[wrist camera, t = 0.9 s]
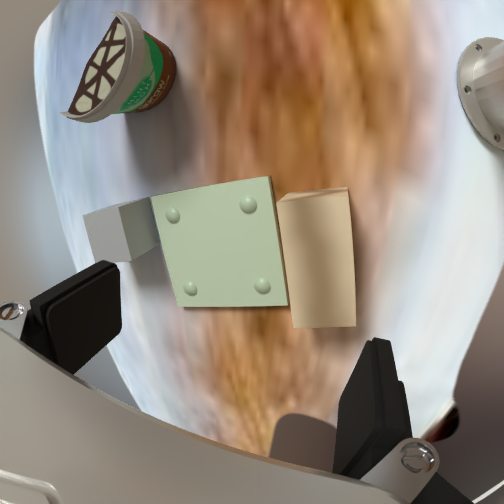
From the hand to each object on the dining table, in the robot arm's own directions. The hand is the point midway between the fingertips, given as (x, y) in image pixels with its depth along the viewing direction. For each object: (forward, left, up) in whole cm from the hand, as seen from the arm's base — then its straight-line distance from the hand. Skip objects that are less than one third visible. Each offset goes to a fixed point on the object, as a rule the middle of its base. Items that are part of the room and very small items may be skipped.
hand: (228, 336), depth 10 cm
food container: (+14, -17, -23) cm, 32 cm away
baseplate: (+10, +3, -23) cm, 25 cm away
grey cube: (+21, -1, -23) cm, 31 cm away
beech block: (-1, +4, -23) cm, 23 cm away
